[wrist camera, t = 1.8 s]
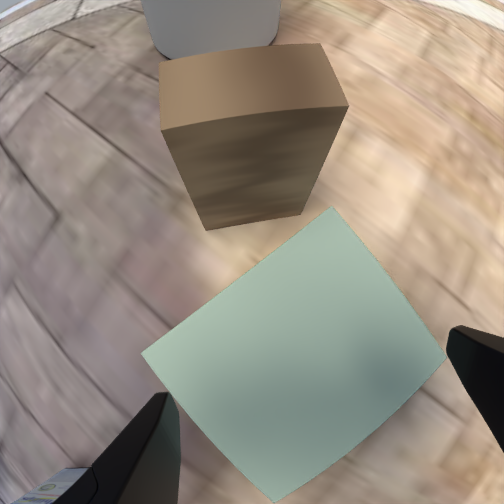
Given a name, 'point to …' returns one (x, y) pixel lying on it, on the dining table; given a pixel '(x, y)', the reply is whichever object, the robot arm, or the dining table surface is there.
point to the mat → (298, 357)
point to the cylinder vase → (210, 25)
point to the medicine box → (52, 487)
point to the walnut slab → (250, 128)
